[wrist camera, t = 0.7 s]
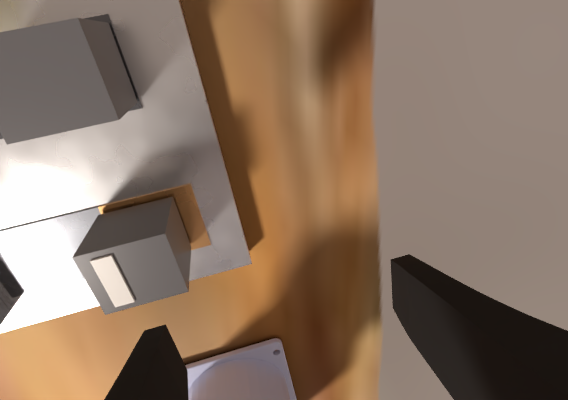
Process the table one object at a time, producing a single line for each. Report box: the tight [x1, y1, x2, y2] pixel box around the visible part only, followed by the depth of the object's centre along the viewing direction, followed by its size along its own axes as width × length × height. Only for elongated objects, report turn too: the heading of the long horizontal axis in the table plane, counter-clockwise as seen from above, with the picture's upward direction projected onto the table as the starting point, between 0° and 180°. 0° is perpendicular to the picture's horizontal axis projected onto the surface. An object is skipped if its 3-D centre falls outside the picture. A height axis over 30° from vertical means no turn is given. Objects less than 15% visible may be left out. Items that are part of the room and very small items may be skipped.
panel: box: [0, 0, 252, 333], centre depth 14 cm, size 18×15×3 cm
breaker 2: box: [72, 197, 191, 315], centre depth 15 cm, size 3×4×4 cm
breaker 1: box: [0, 18, 138, 145], centre depth 12 cm, size 3×4×4 cm
